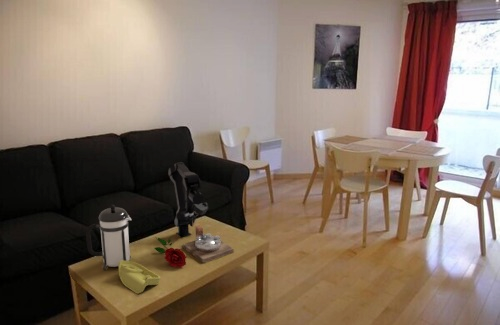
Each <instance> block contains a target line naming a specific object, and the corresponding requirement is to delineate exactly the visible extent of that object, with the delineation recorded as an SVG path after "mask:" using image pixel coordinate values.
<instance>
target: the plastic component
mask: <svg viewBox="0 0 500 325" xmlns="http://www.w3.org/2000/svg"><path fill="white" fill-rule="evenodd" d="M118 275H119V276H118V277H119V278H120V281H121V282H122V284H123V285H124V286H125V287H126V288H128V289H130V290H131V291H132V292H134V293H135V294H141V293H143V291H144V290H145V289H146V287H147V286H157V285H158V284H159V283H160V280H161V276H160V275H158V274H156V273H155V272H154V271H152V270H150V269H148V268H147V267H145V266H143V265H142V264H140V263H137V262H135V261H131V260H129V261H120V262H119V266H118Z"/></svg>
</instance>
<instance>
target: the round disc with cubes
mask: <svg viewBox="0 0 500 325" xmlns="http://www.w3.org/2000/svg"><path fill="white" fill-rule="evenodd" d="M211 235H212V233H210V232H209V233H205V234H204V227H202V226H201V225H200V224H199V225H196V226H195V240H194V241H195V248H196V249H197V250H198V251H201V252H214V251H216V250H218V249H219V248H220V247H221V241H222V240H221V236H220V235H218V234H217V235H212V236H211Z"/></svg>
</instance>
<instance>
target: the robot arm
mask: <svg viewBox="0 0 500 325" xmlns="http://www.w3.org/2000/svg"><path fill="white" fill-rule="evenodd" d="M167 173H168V177H169V179H170V181H171V182H172V183H173V184H174V185H173V186H174V192H175V197H176V203H177V210H176V212H175V218H174V220H173V221H174V225H175V226H176V227H177V229H178V231H177V232H175V235H177V236H178V237H180V238H185V237H188V236H191V235H192V233H191V232H190V229H189V228H190V227H194V225H195V221H196V218H197V216H203V215H205V214H206V212H207V211H208V210H209V203H207V201H206V202H203V201H204V199H205V198H204V195H203V194H202V193H201V192H200V190H202V182H201V179H200V177H199V175H198V174H197V173H195V172H192V171H190V170H189V168H188V167H187V166H186V163H185V162H176V163H174V164H173V165H172V166H170V167H169V168H168V172H167ZM189 226H190V227H189Z"/></svg>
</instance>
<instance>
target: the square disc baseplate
mask: <svg viewBox="0 0 500 325" xmlns="http://www.w3.org/2000/svg"><path fill="white" fill-rule="evenodd" d="M211 236H213V235H212V234H211ZM182 248H183V249H184V250H186V251H187V252H188V253H190V254H191V255H192V256H193V257H195V258H196V259H197V260H199V261H200V262H202V263H203V264H205V263H207V262H210V261H214V260H216V259H219V258H222V257H224V256H227V255H231V254H233V253H234V250H235V249H234V248H233V247H231V246H229V245H228V244H227V243H226V242H223V241H222V240H221V247H220V248H219V249H218V250H216V251H214V252H201V251H198V250H197V249H196V248H195V240H192V241H189V242H186V243H183V244H182Z"/></svg>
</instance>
